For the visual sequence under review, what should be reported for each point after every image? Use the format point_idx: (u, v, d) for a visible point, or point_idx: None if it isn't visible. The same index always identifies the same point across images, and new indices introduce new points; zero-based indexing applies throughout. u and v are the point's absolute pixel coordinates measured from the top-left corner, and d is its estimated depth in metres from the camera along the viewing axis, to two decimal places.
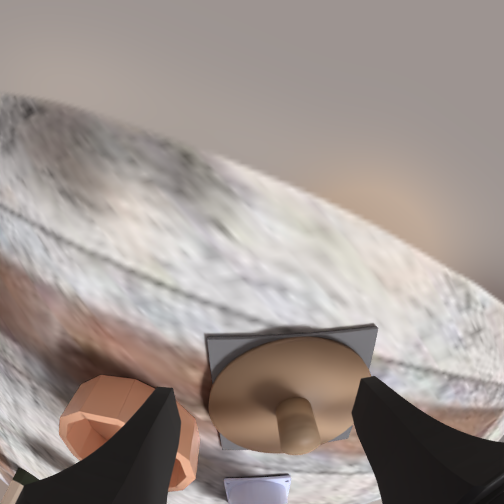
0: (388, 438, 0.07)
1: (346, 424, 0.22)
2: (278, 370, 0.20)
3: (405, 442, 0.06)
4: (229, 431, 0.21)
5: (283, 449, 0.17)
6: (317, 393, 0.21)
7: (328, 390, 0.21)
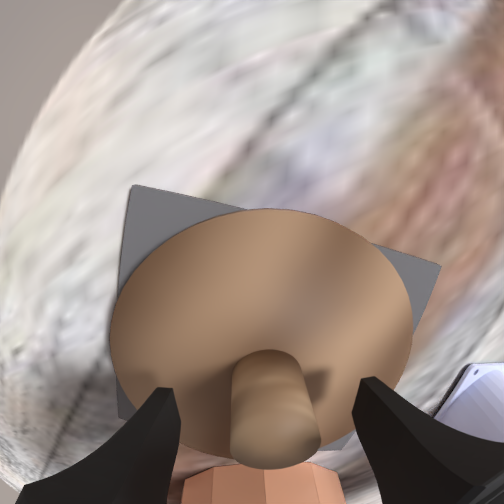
0: (388, 438, 0.07)
1: (382, 279, 0.10)
2: (159, 378, 0.11)
3: (405, 442, 0.06)
4: None
5: (276, 467, 0.08)
6: (237, 334, 0.11)
7: (239, 314, 0.11)
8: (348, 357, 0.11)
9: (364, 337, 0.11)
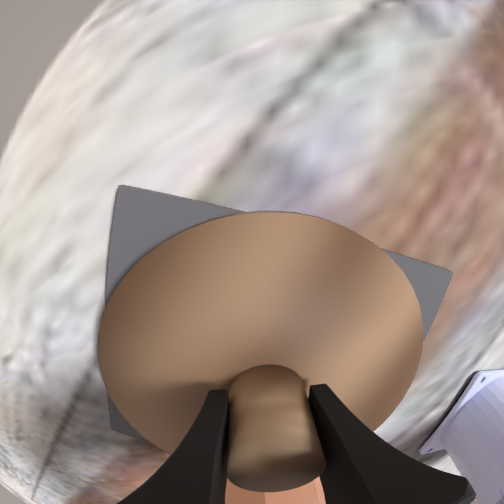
0: (330, 451, 0.07)
1: (392, 288, 0.09)
2: (152, 393, 0.10)
3: (342, 459, 0.06)
4: None
5: (277, 490, 0.07)
6: (235, 348, 0.10)
7: (236, 327, 0.10)
8: (354, 371, 0.10)
9: (372, 350, 0.10)
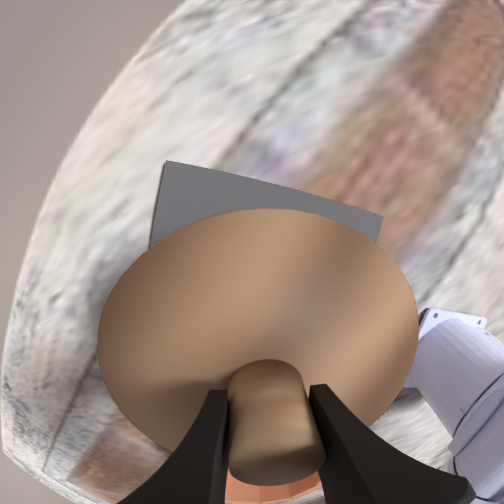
0: (330, 451, 0.07)
1: (388, 283, 0.10)
2: (151, 390, 0.10)
3: (342, 459, 0.06)
4: None
5: (278, 483, 0.07)
6: (233, 344, 0.10)
7: (235, 323, 0.10)
8: (351, 365, 0.11)
9: (368, 344, 0.10)
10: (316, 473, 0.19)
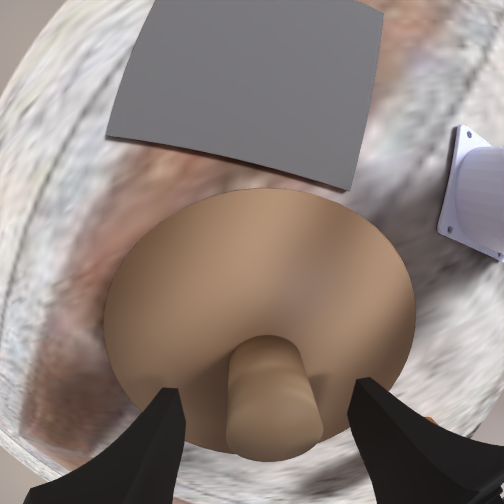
0: (382, 440, 0.07)
1: (381, 259, 0.10)
2: (155, 369, 0.11)
3: (399, 444, 0.06)
4: None
5: (276, 459, 0.08)
6: (233, 319, 0.11)
7: (234, 297, 0.10)
8: (349, 342, 0.11)
9: (365, 321, 0.11)
10: None
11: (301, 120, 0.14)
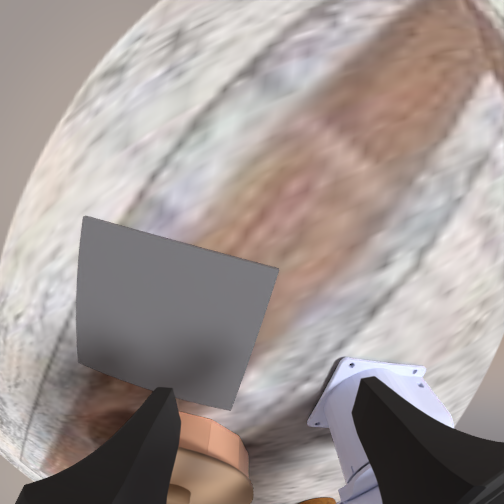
0: (387, 438, 0.07)
1: (221, 473, 0.17)
2: None
3: (405, 442, 0.06)
4: None
5: None
6: None
7: None
8: (213, 491, 0.17)
9: (219, 487, 0.17)
10: None
11: (194, 376, 0.20)
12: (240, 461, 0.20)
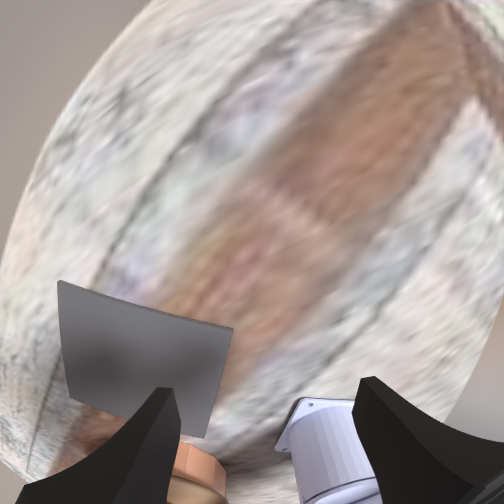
0: (388, 438, 0.07)
1: (196, 492, 0.18)
2: None
3: (405, 442, 0.06)
4: None
5: None
6: None
7: None
8: None
9: (197, 502, 0.18)
10: None
11: None
12: (216, 480, 0.21)
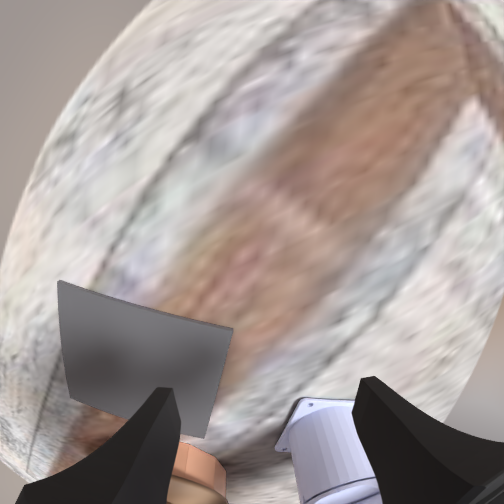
0: (388, 438, 0.07)
1: (196, 492, 0.18)
2: None
3: (405, 442, 0.06)
4: None
5: None
6: None
7: None
8: None
9: (197, 502, 0.18)
10: None
11: None
12: (216, 480, 0.21)
